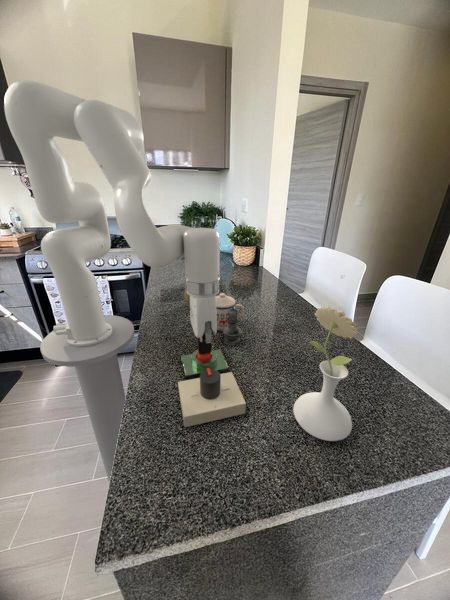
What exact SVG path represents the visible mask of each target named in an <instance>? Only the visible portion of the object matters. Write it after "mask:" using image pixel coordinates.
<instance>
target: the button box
mask: <svg viewBox="0 0 450 600" xmlns="http://www.w3.org/2000/svg"><path fill="white" fill-rule="evenodd" d="M197 350H198V349H197ZM197 350H194V351H193V352H192V353H188V354H184V355H183V354H182V355H181V356H180V358H181V366H182V371H183V376H184V381H185V380H191V379H196V378H200V374H201V373H202V372H203V371H204V370H207V368H210V369H214V370H217V371H218V372H219V373H220V374H223V373H229V369H230V368H229V365H228V363H227V361H226V359H225V356H224V354H223V351H222V350H221V349H214V350H213V349H212V352H211V359H210V360H208V361H199V360H198V359H197Z"/></svg>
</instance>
